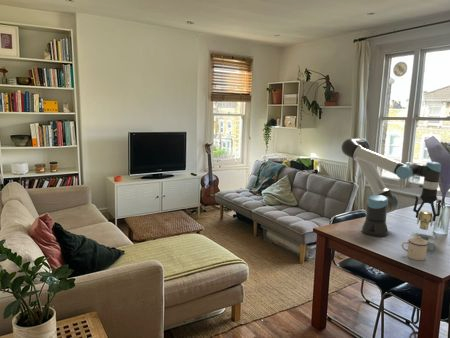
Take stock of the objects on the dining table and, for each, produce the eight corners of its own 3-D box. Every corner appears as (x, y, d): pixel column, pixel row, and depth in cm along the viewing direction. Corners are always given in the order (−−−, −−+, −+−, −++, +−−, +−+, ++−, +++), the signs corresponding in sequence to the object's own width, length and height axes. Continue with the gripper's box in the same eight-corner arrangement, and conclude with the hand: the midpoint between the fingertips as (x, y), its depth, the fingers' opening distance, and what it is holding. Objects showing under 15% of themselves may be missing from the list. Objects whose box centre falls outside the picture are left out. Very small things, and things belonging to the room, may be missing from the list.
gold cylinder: (422, 230, 200) (424, 214, 198) (415, 226, 206) (417, 211, 204) (432, 230, 201) (434, 214, 199) (424, 226, 207) (427, 211, 205)
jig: (433, 250, 186) (434, 243, 186) (409, 245, 193) (409, 238, 192) (433, 243, 196) (434, 236, 196) (410, 239, 203) (411, 232, 202)
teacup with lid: (426, 255, 180) (428, 235, 178) (426, 262, 173) (428, 241, 170) (401, 250, 186) (403, 231, 184) (400, 257, 179) (402, 236, 176)
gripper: (410, 186, 201) (405, 222, 206) (449, 192, 190) (442, 230, 195) (412, 184, 207) (407, 219, 212) (449, 189, 196) (443, 226, 201)
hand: (424, 224), depth 203 cm, fingers closed on gold cylinder, 6 cm apart
